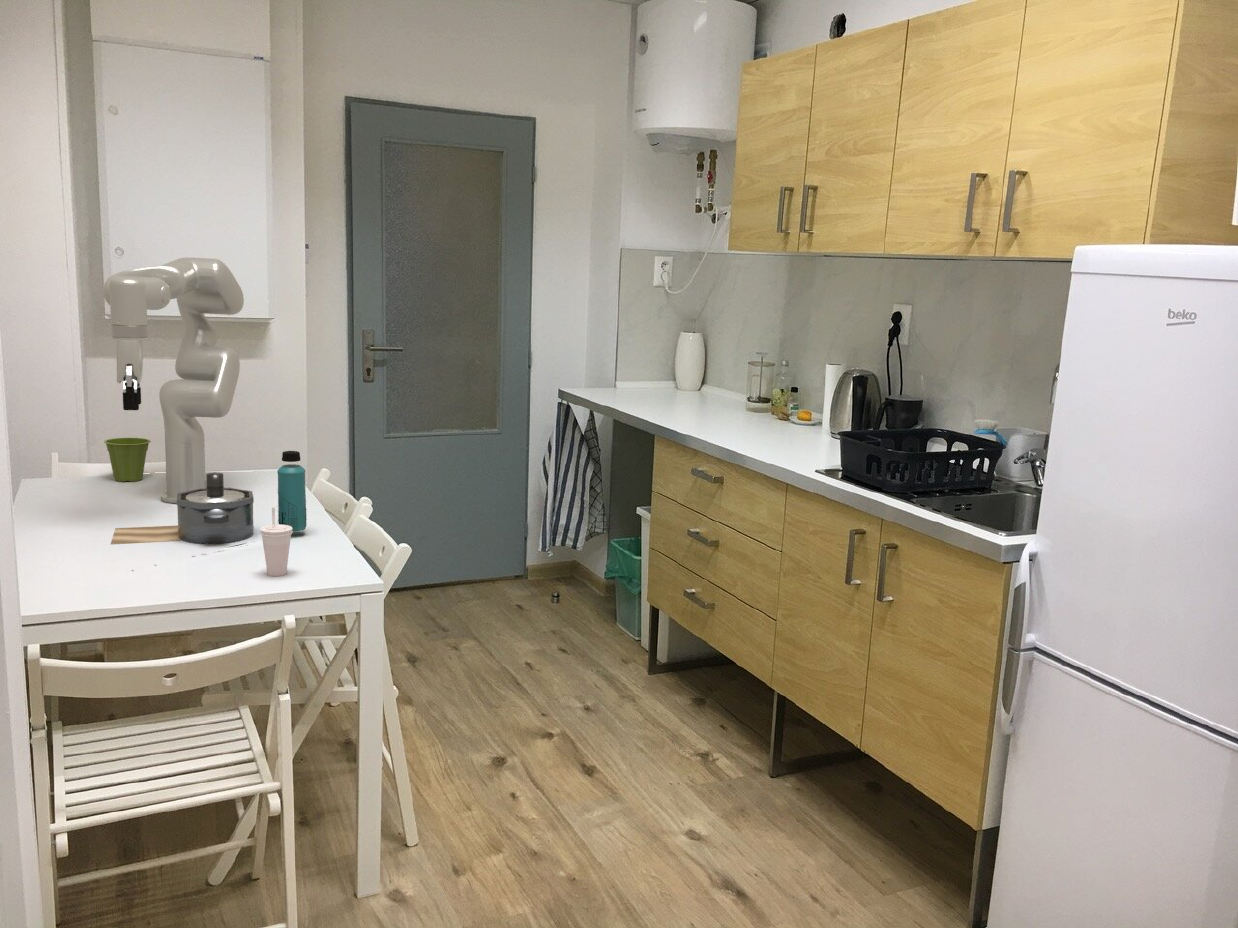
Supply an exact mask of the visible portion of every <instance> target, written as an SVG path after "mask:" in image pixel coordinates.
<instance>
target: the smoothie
mask: <svg viewBox="0 0 1238 928" xmlns="http://www.w3.org/2000/svg"><path fill="white" fill-rule="evenodd" d="M259 529H260V530H259V531H260V532H259V534H260V535H261V538H262V544H263V546H262V547H263V553H264V561H265V566H266V573H267V575H268V576H269V577H282V576H285V575H286V574H287V571H288V563H289V562H288V561H289V554H290V546H291V537H292V534H293V533H294V532H293V531H292V527H291V526H288V525H280V524H279V523H277V524H276V507H275V506H272V507H271V524H268V525H264V526H262V527H260V528H259Z"/></svg>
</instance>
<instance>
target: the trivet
mask: <svg viewBox="0 0 1238 928" xmlns="http://www.w3.org/2000/svg"><path fill="white" fill-rule="evenodd" d="M181 541H182V540H180V539H179V537H178V525H159V526H139V527H138V526H136V527H134V526H133V527H115V529H114V532H113V535H112V538H111V541H110V545H123V544H145V543H165V542H168V543H169V542H181Z"/></svg>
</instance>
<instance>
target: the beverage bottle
mask: <svg viewBox="0 0 1238 928" xmlns="http://www.w3.org/2000/svg"><path fill="white" fill-rule="evenodd" d="M281 461H282V462H286V463H291V464H283V465H281V466H280V467H279V468H278V469H277V498H278V499H277V508H278V509H277V524H280V525H288V526H291V527H292V531H293V533H295V532H300V531H305V530H306V528H307V526H308V525H307V520H308V519H307V499H306V498H307V496H306V469H305V468H304V467H303V466H302V465H300V464H293V463H295V462H296V463H298V462H301V452H300V451H297V450H285V451H282V453H281Z"/></svg>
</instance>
